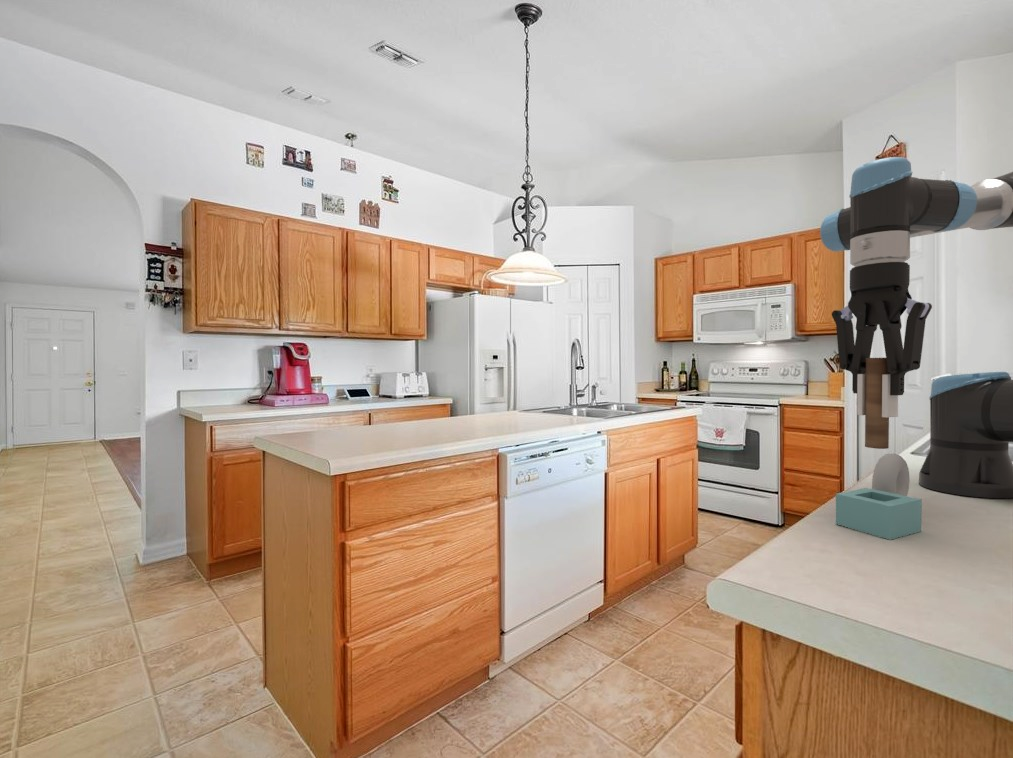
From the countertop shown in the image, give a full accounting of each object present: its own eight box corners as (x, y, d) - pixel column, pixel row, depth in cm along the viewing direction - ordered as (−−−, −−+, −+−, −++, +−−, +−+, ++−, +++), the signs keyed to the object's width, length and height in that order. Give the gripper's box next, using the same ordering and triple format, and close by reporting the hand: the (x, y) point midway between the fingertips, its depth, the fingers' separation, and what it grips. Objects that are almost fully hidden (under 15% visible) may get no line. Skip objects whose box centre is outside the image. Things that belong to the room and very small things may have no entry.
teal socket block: (866, 517, 86) (866, 487, 86) (921, 531, 79) (921, 499, 79) (835, 524, 83) (835, 493, 83) (889, 539, 75) (890, 506, 75)
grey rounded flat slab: (892, 518, 85) (892, 458, 85) (868, 513, 88) (868, 455, 88) (912, 507, 91) (912, 451, 91) (889, 502, 94) (889, 448, 94)
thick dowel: (872, 445, 82) (873, 357, 82) (892, 447, 79) (894, 357, 79) (860, 446, 81) (861, 357, 80) (881, 449, 78) (882, 357, 78)
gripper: (813, 271, 85) (812, 412, 86) (924, 252, 70) (922, 422, 71) (842, 274, 88) (840, 410, 89) (954, 256, 73) (952, 419, 74)
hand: (877, 415), depth 80 cm, fingers closed on thick dowel, 3 cm apart
